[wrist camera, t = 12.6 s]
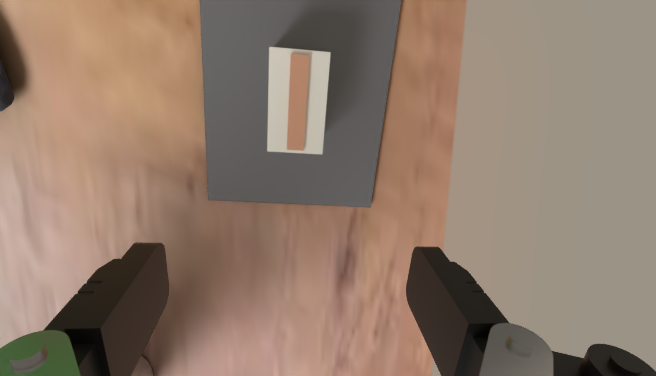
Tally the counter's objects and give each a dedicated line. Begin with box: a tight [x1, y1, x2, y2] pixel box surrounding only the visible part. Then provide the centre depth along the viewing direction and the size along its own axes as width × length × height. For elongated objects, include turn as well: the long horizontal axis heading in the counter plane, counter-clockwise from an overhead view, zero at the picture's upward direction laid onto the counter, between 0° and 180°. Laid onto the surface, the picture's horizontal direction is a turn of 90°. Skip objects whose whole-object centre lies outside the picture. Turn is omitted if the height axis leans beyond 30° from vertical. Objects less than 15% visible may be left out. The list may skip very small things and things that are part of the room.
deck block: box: [267, 47, 331, 155], centre depth 26 cm, size 7×4×5 cm, turn 175°
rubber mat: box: [200, 0, 401, 207], centre depth 29 cm, size 15×20×1 cm
